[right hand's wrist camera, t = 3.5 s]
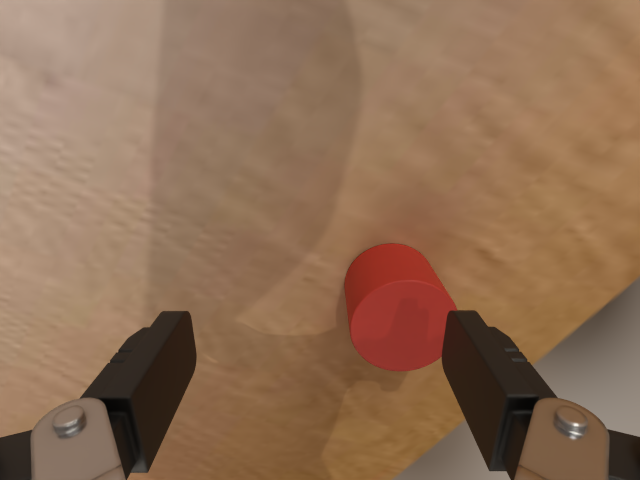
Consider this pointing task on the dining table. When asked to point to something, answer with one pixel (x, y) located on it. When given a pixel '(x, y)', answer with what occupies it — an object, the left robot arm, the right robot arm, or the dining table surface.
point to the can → (396, 308)
